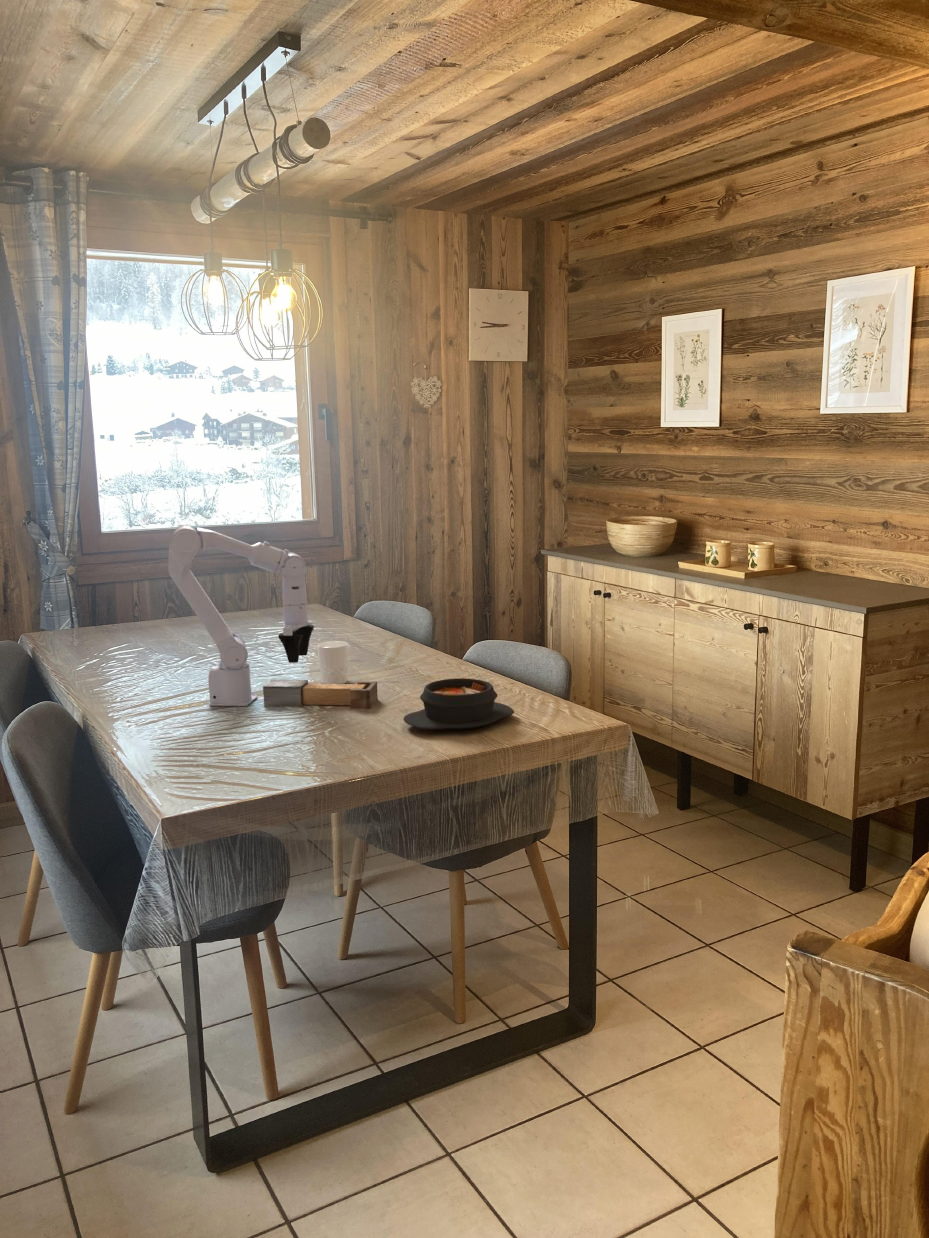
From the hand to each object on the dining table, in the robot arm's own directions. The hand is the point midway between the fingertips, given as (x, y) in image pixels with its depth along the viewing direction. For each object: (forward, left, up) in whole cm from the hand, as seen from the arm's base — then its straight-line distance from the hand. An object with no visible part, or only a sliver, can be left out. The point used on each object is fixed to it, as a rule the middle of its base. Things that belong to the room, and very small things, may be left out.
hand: (298, 658), depth 238 cm
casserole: (+42, -20, -10) cm, 48 cm away
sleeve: (-1, -6, -9) cm, 11 cm away
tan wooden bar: (+10, -6, -9) cm, 15 cm away
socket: (+18, -6, -9) cm, 21 cm away
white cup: (+5, +14, -10) cm, 18 cm away
